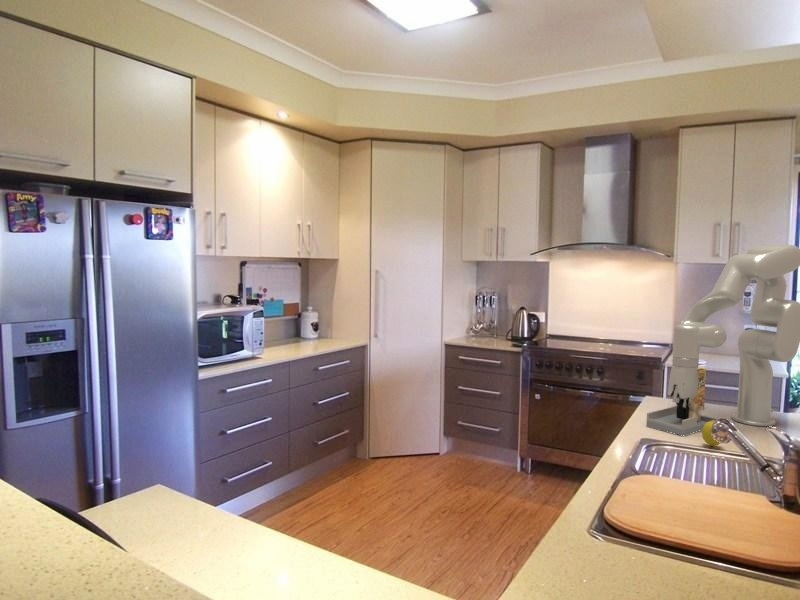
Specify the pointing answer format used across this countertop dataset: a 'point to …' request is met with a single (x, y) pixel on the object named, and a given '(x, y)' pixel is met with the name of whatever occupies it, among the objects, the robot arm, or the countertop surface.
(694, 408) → the block
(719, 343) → the robot arm
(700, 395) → the candy box
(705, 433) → the lemon
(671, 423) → the pale blue tray
